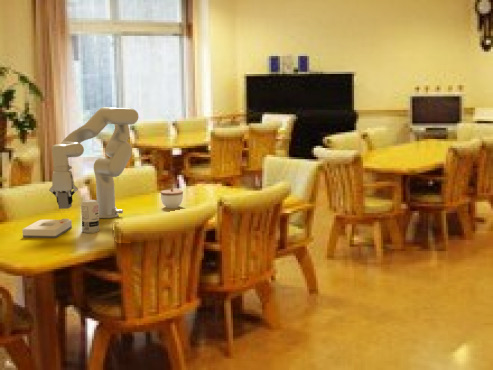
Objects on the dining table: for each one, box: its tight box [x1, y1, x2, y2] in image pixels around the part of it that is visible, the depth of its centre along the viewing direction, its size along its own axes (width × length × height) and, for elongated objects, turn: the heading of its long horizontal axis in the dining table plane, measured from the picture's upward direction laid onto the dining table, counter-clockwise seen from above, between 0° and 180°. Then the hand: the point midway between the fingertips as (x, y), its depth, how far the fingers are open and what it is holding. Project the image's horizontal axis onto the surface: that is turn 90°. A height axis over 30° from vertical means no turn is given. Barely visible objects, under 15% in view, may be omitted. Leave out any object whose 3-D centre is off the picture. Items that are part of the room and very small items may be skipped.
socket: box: [21, 218, 73, 239], centre depth 349 cm, size 16×22×5 cm
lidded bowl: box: [160, 187, 184, 209], centre depth 411 cm, size 13×13×11 cm
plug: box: [57, 191, 73, 210], centre depth 367 cm, size 5×5×10 cm
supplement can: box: [80, 199, 100, 234], centre depth 350 cm, size 8×8×15 cm
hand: (64, 203), depth 367 cm, fingers closed on plug, 5 cm apart
